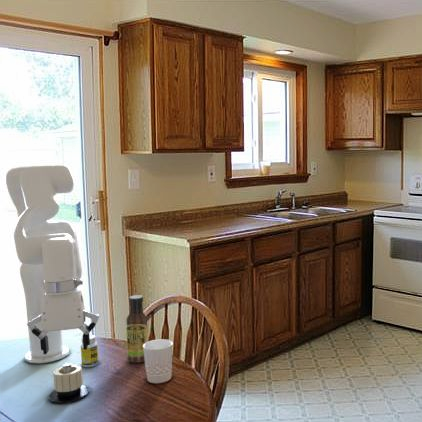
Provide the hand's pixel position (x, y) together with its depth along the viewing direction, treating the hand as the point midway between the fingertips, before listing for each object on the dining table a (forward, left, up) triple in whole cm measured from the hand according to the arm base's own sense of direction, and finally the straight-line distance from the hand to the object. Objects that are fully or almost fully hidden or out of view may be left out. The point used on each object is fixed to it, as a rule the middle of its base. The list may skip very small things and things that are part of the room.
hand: (66, 350), depth 139 cm
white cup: (-4, +23, -13) cm, 27 cm away
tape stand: (0, 0, -12) cm, 12 cm away
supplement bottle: (-20, +3, -13) cm, 24 cm away
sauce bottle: (-19, +17, -13) cm, 29 cm away
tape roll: (0, 0, -10) cm, 10 cm away
